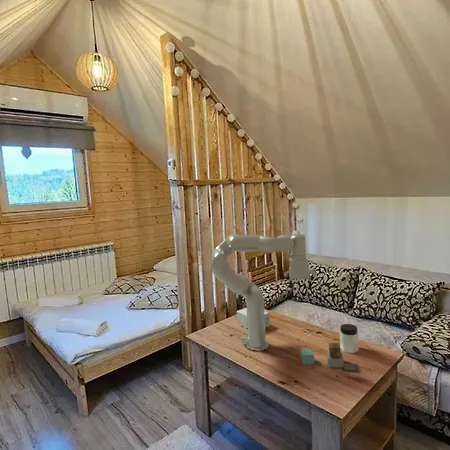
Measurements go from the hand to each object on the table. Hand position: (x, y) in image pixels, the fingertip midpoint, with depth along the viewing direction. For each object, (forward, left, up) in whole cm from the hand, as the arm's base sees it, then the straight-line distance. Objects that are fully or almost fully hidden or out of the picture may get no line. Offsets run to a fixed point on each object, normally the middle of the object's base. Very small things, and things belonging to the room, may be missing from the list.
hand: (300, 288), depth 178 cm
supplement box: (-31, +18, -31) cm, 47 cm away
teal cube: (+3, -21, -30) cm, 37 cm away
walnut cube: (+16, -21, -26) cm, 37 cm away
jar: (+24, -6, -31) cm, 39 cm away
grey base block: (+16, -21, -30) cm, 40 cm away
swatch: (+22, -24, -30) cm, 44 cm away
